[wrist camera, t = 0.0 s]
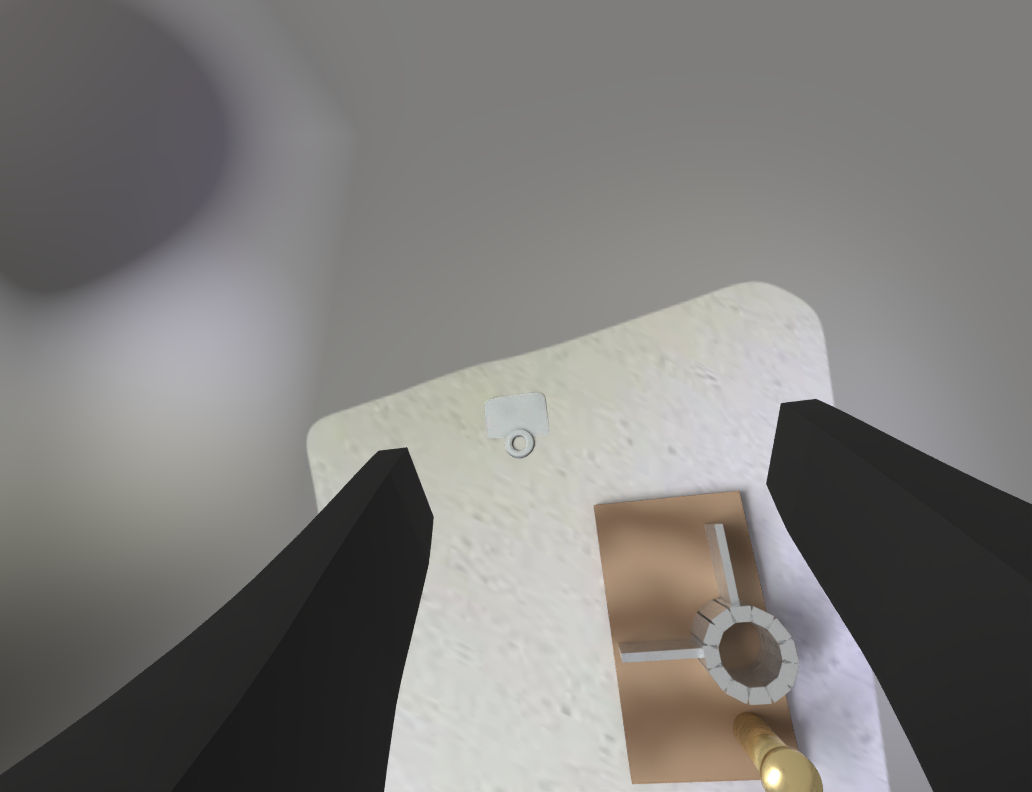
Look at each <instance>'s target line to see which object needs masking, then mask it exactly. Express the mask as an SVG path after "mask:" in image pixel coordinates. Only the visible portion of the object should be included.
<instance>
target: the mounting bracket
mask: <svg viewBox="0 0 1032 792" xmlns="http://www.w3.org/2000/svg"><path fill="white" fill-rule="evenodd" d="M484 408H485V419H486V430H487V438H504V437H506V439H505V448H506V451H507V452H508V453H509V455H510V456H512V457H514V458H523V457H526V456H528V455H529V454H530V453H531V452H532V450H533V448H534V440H533V437H532V436H540V435H550V433H549V425H548V418H547V410H546V402H545V396H544V395H543V394H541V393H538V392H533V393H526V394H519V395H512V396H505V397H498V398H492V399H489V400H488V401H487V402H486V403H485V405H484ZM515 437H524V438H525V439H526V447H525V448H524V449H523V450H521V451H517V450H515V449H514V448H513V447H512V441H513V439H514V438H515Z"/></svg>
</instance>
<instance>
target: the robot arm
mask: <svg viewBox="0 0 1032 792" xmlns="http://www.w3.org/2000/svg"><path fill="white" fill-rule="evenodd" d="M766 484H767V487H768V489H769V491H770V494H771V496H772V498H773V501H774V503H775V505H776V507H777V510H778V512H779V514H780V516H781V518H782V520H783V523H784V525H785V527H786V529H787V531H788V533H789V535H790V536H791V538H792V540H793V541H794V543H795V545H796V546H797V548H798V550H799V551H800V553H801V554H802V556H803V558H804V559H805V561H806V563H807V564H808V566H809V567H810V569H811V571H812V572H813V574H814V576H815V577H816V579H817V580H818V582H819V584H820V585H821V587H822V588H823V590H824V591H825V593H826V595H827V596H828V598H829V599H830V601H831V603H832V604H833V606H834V607H835V609H836V611H837V612H838V614H839V615H840V617H841V619H842V620H843V622H844V623H845V625H846V627H847V628H848V630H849V632H850V633H851V635H852V636H853V638H854V640H855V641H856V643H857V644H858V646H859V648H860V649H861V651H862V653H863V654H864V656H865V658H866V660H867V661H868V663H869V665H870V666H871V668H872V670H873V672H874V673H875V675H876V676H877V679H878V681H879V683H880V685H881V686H882V688H883V690H884V692H885V694H886V696H887V698H888V700H889V702H890V704H891V706H892V708H893V710H894V712H895V714H896V716H897V718H898V720H899V722H900V724H901V726H902V728H903V730H904V732H905V734H906V736H907V738H908V740H909V742H910V744H911V746H912V748H913V750H914V752H915V754H916V756H917V758H918V761H919V763H920V765H921V767H922V769H923V771H924V773H925V775H926V777H927V779H928V781H929V784H930V786H931V788H932V790H933V792H1032V504H1030V503H1028V502H1025V501H1023V500H1021V499H1019V498H1017V497H1015V496H1012V495H1010V494H1008V493H1006V492H1004V491H1001V490H999V489H997V488H995V487H993V486H991V485H989V484H986V483H984V482H982V481H980V480H978V479H976V478H974V477H972V476H969V475H968V474H966V473H963V472H961V471H959V470H957V469H955V468H953V467H951V466H949V465H947V464H945V463H943V462H941V461H939V460H937V459H935V458H933V457H931V456H929V455H927V454H925V453H923V452H921V451H919V450H917V449H915V448H913V447H911V446H909V445H907V444H905V443H904V442H901V441H900V440H898V439H896V438H894V437H892V436H890V435H888V434H886V433H884V432H882V431H880V430H878V429H876V428H874V427H872V426H870V425H868V424H867V423H865V422H863V421H861V420H859V419H857V418H855V417H853V416H851V415H849V414H847V413H845V412H843V411H841V410H839V409H837V408H835V407H833V406H831V405H828V404H826V403H824V402H822V401H819V400H817V399H812V400H803V401H795V402H786V403H781V406H780V411H779V417H778V422H777V428H776V433H775V439H774V444H773V450H772V455H771V460H770V466H769V471H768V477H767V482H766ZM433 519H434V517H433V514H432V511H431V509H430V506H429V504H428V501H427V498H426V496H425V493H424V490H423V488H422V485H421V483H420V480H419V477H418V475H417V472H416V469H415V467H414V464H413V462H412V459H411V456H410V454H409V451H408V448H407V447H406V448H398V449H389V450H381V451H378V452H377V453H376V454H375V455H374V456H373V457H372V458H371V459H370V460H369V461H368V462H367V463H366V464H365V465H364V466H363V467H362V468H361V469H360V470H359V471H358V472H357V473H356V474H355V475H354V477H353V478H352V479H351V480H350V481H349V482H348V483H347V484H346V485H345V486H344V487H343V488H342V490H341V491H340V492H339V493H338V494H337V495H336V496H335V497H334V498H333V499H332V500H331V501H330V502H329V503H328V504H327V506H326V507H325V508H324V509H323V510H322V511H321V512H320V513H319V514H318V515H317V516H316V517H315V518H314V519H313V520H312V521H311V523H309V525H308V526H307V527H306V528H305V529H304V530H303V531H302V532H301V533H300V534H299V535H298V536H297V537H296V538H295V539H294V540H293V541H292V542H291V543H290V544H289V545H288V546H287V547H286V548H284V549H283V550H282V551H281V553H279V554H278V555H277V556H276V557H275V558H274V559H273V560H272V561H271V562H270V563H269V564H268V565H267V566H266V567H265V568H264V569H263V570H262V571H261V572H260V573H259V574H258V575H257V576H256V577H255V578H254V579H253V580H252V581H251V582H250V583H248V584H247V585H246V586H245V587H244V588H243V589H242V590H241V591H240V592H239V593H238V594H236V595H235V596H234V597H233V598H232V599H231V600H230V601H228V602H227V603H226V604H225V605H224V606H223V607H222V608H220V609H219V610H218V611H217V612H216V613H215V614H213V615H212V616H211V617H210V618H209V619H208V620H206V621H205V622H204V623H203V624H202V625H201V626H199V627H198V628H197V629H196V630H195V631H194V632H192V633H191V634H190V635H189V636H187V637H186V638H185V639H184V640H183V641H181V642H180V643H179V644H178V645H176V646H175V647H174V648H173V649H171V650H170V651H169V652H167V653H166V654H165V655H164V656H162V657H161V658H160V659H158V660H157V661H156V662H155V663H153V664H152V665H151V666H149V667H148V668H147V669H145V670H144V671H143V672H142V673H140V674H139V675H138V676H136V677H135V678H134V679H133V680H131V681H130V682H129V683H128V684H126V685H125V686H124V687H122V688H121V689H120V690H119V691H117V692H116V693H115V694H113V695H112V696H111V697H109V698H108V699H107V700H105V701H104V702H103V703H101V704H100V705H99V706H97V707H96V708H95V709H93V710H92V711H91V712H89V713H88V714H87V715H85V716H84V717H82V718H81V719H79V720H78V721H77V722H75V723H74V724H72V725H71V726H70V727H68V728H67V729H66V730H64V731H63V732H61V733H60V734H59V735H57V736H56V737H54V738H53V739H52V740H50V741H49V742H47V743H46V744H44V745H43V746H42V747H40V748H38V749H37V750H36V751H34V752H33V753H31V754H30V755H28V756H27V757H25V758H24V759H23V760H21V761H20V762H18V763H17V764H15V765H14V766H13V767H11V768H10V769H8V770H7V771H5V772H4V773H2V774H1V775H0V792H384V788H385V780H386V772H387V764H388V758H389V751H390V744H391V737H392V730H393V723H394V717H395V710H396V704H397V699H398V694H399V689H400V684H401V679H402V675H403V670H404V666H405V662H406V658H407V654H408V650H409V645H410V641H411V637H412V633H413V629H414V625H415V621H416V616H417V612H418V608H419V604H420V600H421V595H422V591H423V587H424V582H425V578H426V574H427V569H428V565H429V557H430V549H431V540H432V530H433Z"/></svg>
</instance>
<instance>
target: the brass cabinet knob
mask: <svg viewBox="0 0 1032 792" xmlns="http://www.w3.org/2000/svg"><path fill="white" fill-rule="evenodd" d="M733 733H734V736H735V738H736V740H737V741H738V743H739V744H740V745H741V747H742V748H743V750H744V751H745V752H746V754H747V755H748V756H749V758H750V759H751V761H752V762H753V763H754V765H755V766H756V768H757V769H758V770H759V772H760V779H761V782H762V785H763V787H764V789H765V791H766V792H823V785H822V780H821V777H820V775H819V773H818V771H817V769H816V768H815V766H814V765H813V764H812V763H811V762H810V761H809V760H808V759H807V757H805V756H804V755H803V754H802V753H801V752H799V751H798V750H796V749H794V748H791V747H787V746H786V745H785V744H784V742H783V741H782V740H781V739H780V738H779V737H778V736H777V735H776V734H775V733H774V732H773V731H772V729H771V728H770V727H769V726H768V725H767V724H766V723H765V722H764V721H763V720H762V719H761V718H760V717H759V716H758V715H756V714H754V713H752V712H743V713H740V714H739V715H738V716H737V717H736V718H735V720H734V722H733Z"/></svg>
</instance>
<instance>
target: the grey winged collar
mask: <svg viewBox="0 0 1032 792" xmlns="http://www.w3.org/2000/svg"><path fill="white" fill-rule="evenodd" d="M704 526H705V531H706V536H707V541H708V546H709V551H710V556H711V561H712V565H713V570H714V575H715V580H716V585H717V590H718V595H719V598H714V601H713V600H712V599H711V600H710V601H709V602H707V603H706V604H705V605H703V606H702V607H701V608H700V609H698V611H699V613H700V614H699V613H697V612H696V614H695V617H694V619H693V622H692V625H691V628H690V630H691V631H692V632H691V633H690V637H691V638H687V639H672V640H657V641H643V642H628V643H618V646H619V652H620V656H621V659H622V662H623V663H627V662H643V661H659V660H675V659H691V658H697V659H698V661H699V662H700V663H701V665H702V666H703V667H704V669H705V670H706V672H707V673H708V674H709V675H710V676H711V678H712V679H713V680H714V681H715V682H716V683H717V685H718V686H719V687H720V688H721V689H722V690H723V691H724V692H725V693H726V694H728V695H730V696H732V697H734V698H736V699H738V700H739V701H741V702H743V703H745V704H747V702H748V703H749V705H760V704H772V702H771V700H772V701H773V702H774V703H775V702H776V701H778V700H779V699H780V698H782V697H783V696H784V695H785V694H787V693H788V692H789V691H790V690H791V689H790V688H789V686H791V687H793V685H794V682H795V678H796V675H797V671H798V668H799V666H798V665H796V664H795V663H799V661H798V656H797V652H796V648H795V644H794V640H793V639H791V637H792V636H791V635H790V634H789V632H788V631H787V630H786V629H785V628H784V626H783V625H782V624H781V623H780V621H779V620H778V619H777V618H775V617H774V616H773V615H771V614H769V613H767V612H765V611H763V610H760V609H758V608H756V607H754V606H752V605H750V604H748V603H746V602H743V601H741V600H739V598H738V593H737V589H736V584H735V579H734V575H733V570H732V565H731V561H730V556H729V551H728V547H727V542H726V537H725V533H724V528H723V524H704ZM739 622H751V623H752V625H753V626H754V627H755V628H756V630H757V632H758V637H759V641H760V649H759V652H758V655H757V659H756V660H755V661H754V662H753V663H752V664H750V665H749V666H748V667H747V668H745V669H732V670H730V669H728V668H726V667H724V666H722V664H721V659H720V654H719V648H718V647H719V644H720V641H721V638H722V635H723V632H724V631H725V630H727V629H728V628H729V627H731V626H732V625H733V624H734V623H739ZM788 685H789V686H788Z"/></svg>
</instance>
